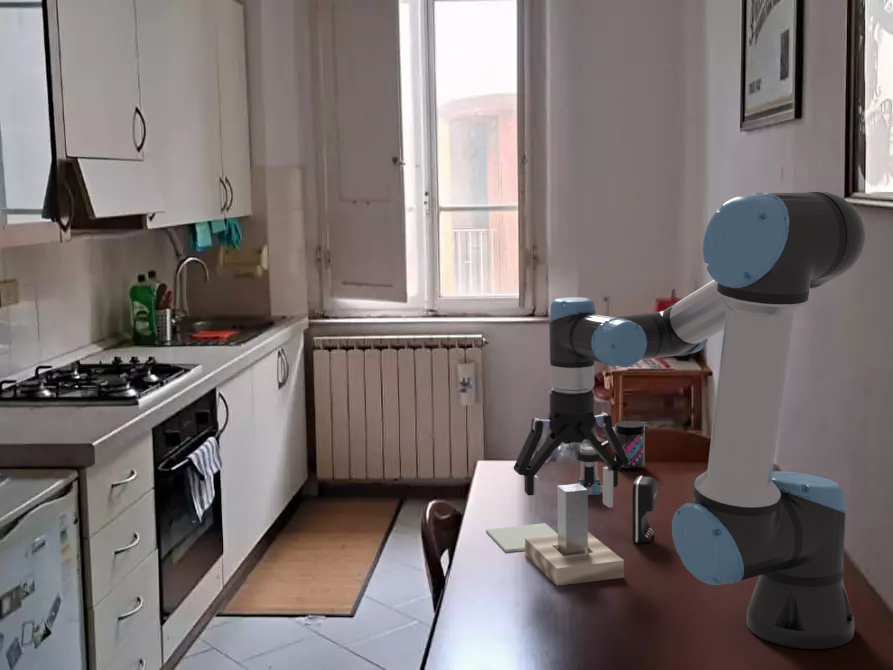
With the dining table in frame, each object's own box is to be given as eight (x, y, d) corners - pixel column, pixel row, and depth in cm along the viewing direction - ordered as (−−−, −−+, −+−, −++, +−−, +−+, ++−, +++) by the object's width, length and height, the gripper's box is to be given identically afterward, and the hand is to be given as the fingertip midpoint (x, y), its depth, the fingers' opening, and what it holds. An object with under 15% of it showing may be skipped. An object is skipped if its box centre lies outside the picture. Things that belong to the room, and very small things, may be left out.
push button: (607, 489, 232) (607, 444, 231) (609, 497, 227) (608, 450, 225) (576, 489, 233) (575, 444, 231) (577, 497, 227) (577, 451, 226)
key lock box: (652, 545, 197) (652, 484, 195) (631, 543, 198) (631, 483, 196) (658, 533, 203) (658, 474, 202) (637, 531, 204) (638, 473, 203)
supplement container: (609, 469, 248) (609, 425, 247) (623, 462, 254) (623, 419, 252) (636, 473, 244) (636, 428, 243) (649, 466, 250) (649, 423, 248)
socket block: (623, 577, 181) (623, 560, 181) (557, 585, 178) (556, 568, 178) (587, 547, 196) (587, 531, 196) (525, 554, 193) (524, 538, 193)
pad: (567, 545, 198) (567, 542, 198) (505, 552, 195) (505, 549, 195) (545, 525, 209) (545, 523, 209) (486, 532, 206) (486, 529, 206)
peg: (587, 568, 186) (587, 489, 184) (566, 570, 185) (565, 491, 183) (579, 560, 190) (578, 483, 188) (557, 563, 189) (557, 485, 187)
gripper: (630, 379, 190) (628, 495, 193) (495, 389, 183) (496, 509, 187) (648, 388, 182) (647, 508, 186) (509, 398, 176) (509, 522, 179)
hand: (571, 509), depth 186 cm, fingers open, 13 cm apart
